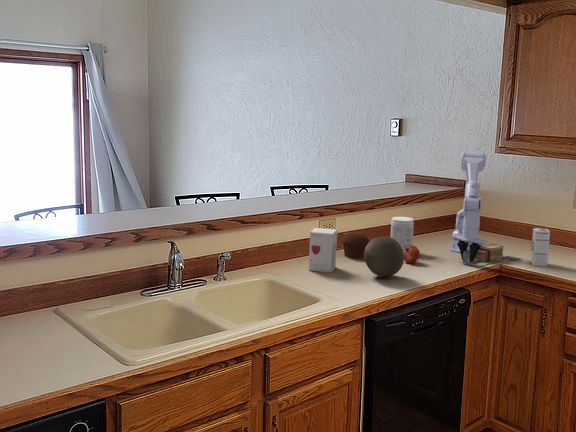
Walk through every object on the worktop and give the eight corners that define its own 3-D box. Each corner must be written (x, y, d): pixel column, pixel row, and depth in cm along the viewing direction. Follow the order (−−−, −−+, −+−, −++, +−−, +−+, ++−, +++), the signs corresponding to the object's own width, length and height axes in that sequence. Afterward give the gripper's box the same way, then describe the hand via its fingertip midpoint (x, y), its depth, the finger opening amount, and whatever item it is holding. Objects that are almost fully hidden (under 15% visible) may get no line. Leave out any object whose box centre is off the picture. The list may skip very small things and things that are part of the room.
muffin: (374, 256, 257) (375, 233, 256) (357, 260, 250) (358, 236, 248) (352, 251, 266) (353, 228, 264) (335, 255, 258) (336, 231, 256)
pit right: (500, 258, 261) (500, 257, 261) (507, 256, 265) (507, 255, 265) (513, 261, 257) (514, 260, 257) (520, 258, 261) (520, 258, 261)
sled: (459, 262, 250) (460, 250, 249) (480, 256, 261) (481, 245, 260) (471, 265, 246) (472, 253, 245) (492, 259, 257) (493, 247, 256)
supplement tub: (393, 248, 274) (395, 215, 271) (414, 251, 270) (416, 217, 267) (386, 252, 265) (388, 218, 263) (408, 255, 261) (410, 221, 259)
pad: (457, 261, 253) (457, 261, 253) (469, 258, 259) (469, 258, 259) (479, 266, 246) (479, 266, 246) (491, 263, 252) (491, 262, 252)
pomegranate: (408, 265, 254) (393, 252, 250) (419, 251, 255) (404, 237, 250) (418, 271, 248) (403, 258, 243) (429, 257, 248) (414, 243, 243)
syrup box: (547, 266, 249) (551, 231, 246) (532, 265, 250) (535, 230, 247) (544, 263, 254) (548, 228, 252) (529, 262, 256) (532, 227, 253)
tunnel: (471, 258, 259) (472, 244, 258) (482, 255, 265) (483, 241, 264) (491, 262, 253) (492, 248, 252) (502, 259, 259) (503, 245, 258)
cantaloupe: (369, 270, 235) (371, 231, 233) (406, 275, 230) (408, 235, 227) (358, 279, 222) (360, 238, 220) (397, 284, 217) (400, 243, 214)
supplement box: (307, 270, 233) (309, 231, 230) (313, 265, 241) (314, 227, 239) (331, 272, 230) (333, 233, 228) (336, 267, 239) (337, 229, 236)
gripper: (448, 225, 249) (446, 258, 251) (481, 231, 238) (478, 265, 241) (458, 223, 253) (455, 255, 256) (491, 229, 243) (488, 262, 245)
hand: (467, 260), depth 248 cm, fingers closed on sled, 3 cm apart
